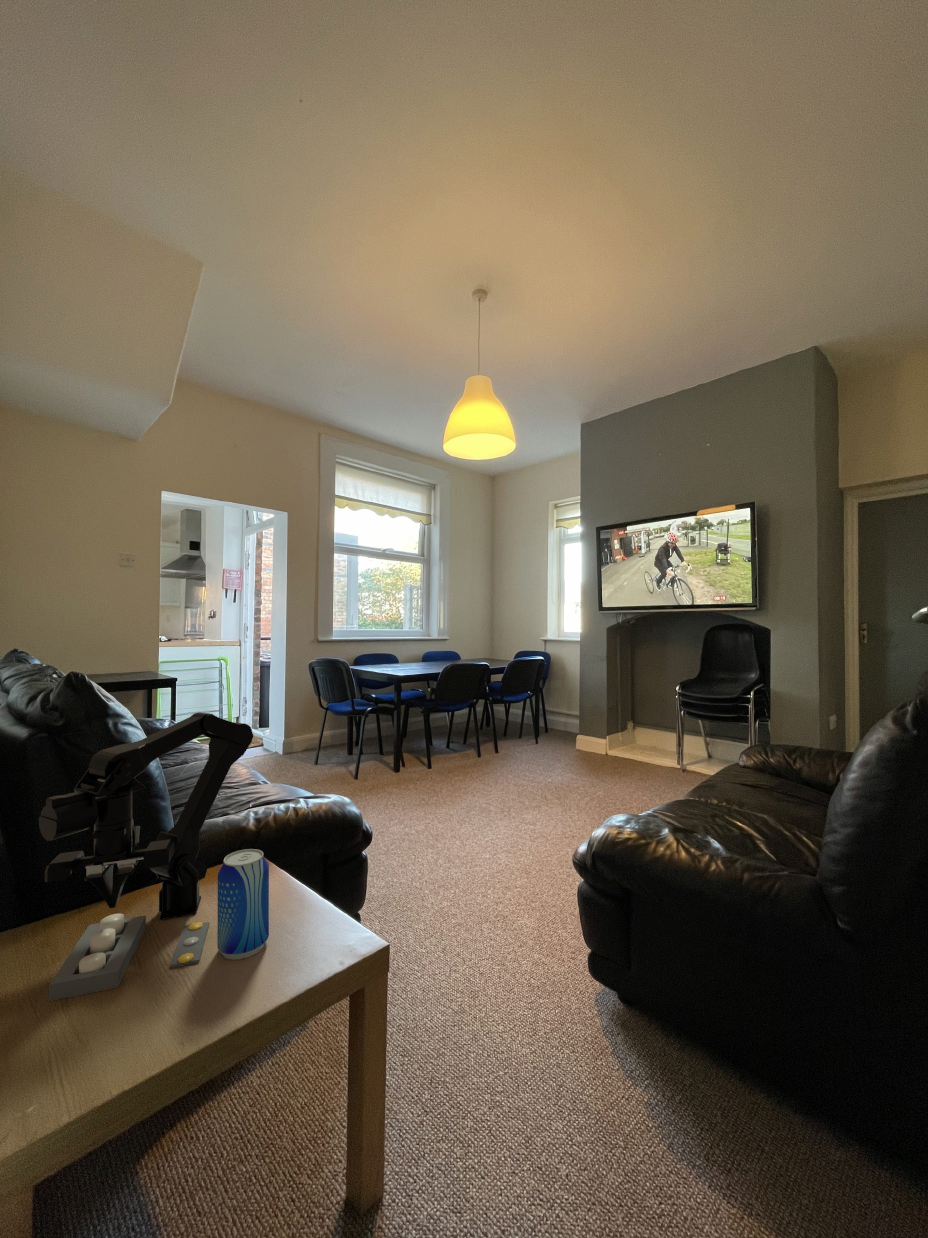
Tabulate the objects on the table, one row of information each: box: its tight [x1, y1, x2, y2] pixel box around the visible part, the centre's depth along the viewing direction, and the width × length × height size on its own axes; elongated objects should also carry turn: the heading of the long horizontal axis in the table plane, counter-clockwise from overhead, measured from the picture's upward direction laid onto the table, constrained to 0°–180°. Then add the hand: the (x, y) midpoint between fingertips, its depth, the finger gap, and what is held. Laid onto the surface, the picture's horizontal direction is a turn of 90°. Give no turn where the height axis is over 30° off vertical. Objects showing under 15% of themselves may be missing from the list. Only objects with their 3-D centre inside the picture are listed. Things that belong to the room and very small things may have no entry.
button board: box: [48, 915, 147, 1002], centre depth 88 cm, size 9×17×2 cm, turn 19°
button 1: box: [79, 952, 106, 974], centre depth 83 cm, size 4×4×2 cm
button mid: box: [90, 928, 115, 954], centre depth 88 cm, size 4×4×2 cm
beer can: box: [216, 848, 270, 961], centre depth 92 cm, size 8×8×16 cm
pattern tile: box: [169, 921, 210, 969], centre depth 92 cm, size 4×12×1 cm, turn 19°
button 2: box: [99, 913, 125, 936], centre depth 93 cm, size 4×4×2 cm
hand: (113, 907), depth 93 cm, fingers closed
